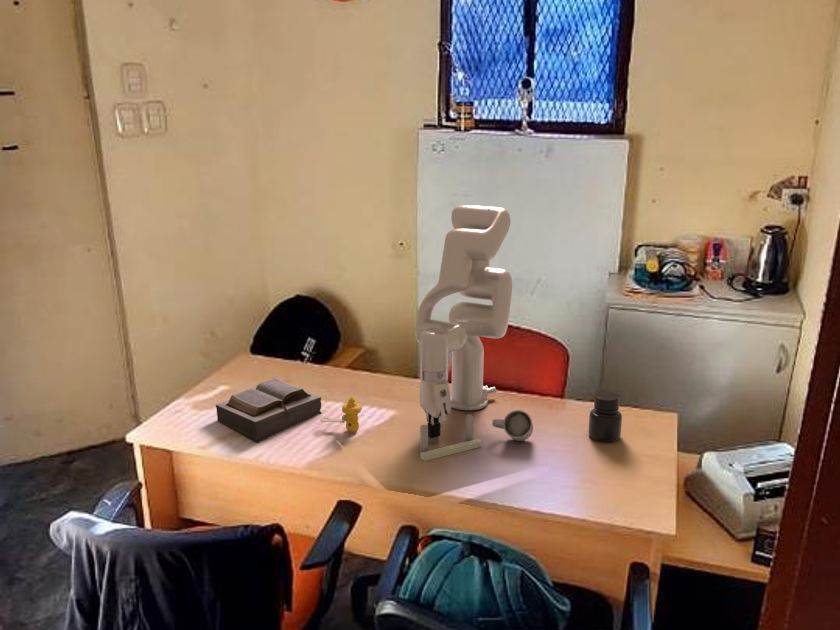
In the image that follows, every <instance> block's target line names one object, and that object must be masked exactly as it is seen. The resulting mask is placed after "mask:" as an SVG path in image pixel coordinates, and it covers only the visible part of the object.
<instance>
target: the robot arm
mask: <svg viewBox="0 0 840 630" xmlns="http://www.w3.org/2000/svg"><path fill="white" fill-rule="evenodd" d="M450 218H451V224H452V227H453V229H451V230H449V231H448V232H447V233H446V235H445V238H444V244H443V251H442V257H441V263H440V270H439V276H438V281H437V283H436V285H435V286H434V287H433V288H431V289H430V290H429V291H428V292H427V294H425V296H424V298H423V299H422V301H421V302H420V305H419V306H418V310H417V316H416V323H415V329H414V330H415V331H414V333H415V335H414V336H415V340H416V341H417V343H418V344H419V345H420V368H419V369H420V370H419V371H420V378H419V379H420V384H419V406H420V408H421V409H422V410H423V411H424V412H425V415H426V418H425V419H426V422H427V426H428V436H429V437H430V438H434V437H438V436H439V437H440V436H441V429H440V424H441V425H442V424H443V423H446V422H447V420H446V416H451V414H452V409H455V410H459V411H476V410H477V411H478V410H481V409H483V408H485V407H486V406H487V405H488V398H487V396H489V395H492V394H496V393H497V388H496V386H492V387H488V385H484V356H485V355H484V354H485V353H484V350H485V349H484V344H483V343H482V342H483V341H482V340H481V339H480V338H481V337H482V338H488V339H489V338H490V339H501V338H503V337H504V336H505V335H506V333H507V331H508V327H509V319H510V312H511V311H510V309H511V302H512V301H511V300H512V294H513V293H512V292H513V278H512V275H511V273H510V272H509V270H506V269H504V268H499V267H498V268H497V267H490V261H492V260H493V259H494V258H495V256H496V255H497V254H498V252H499V250H500V248H501V245H502V244H503V242H504V240H505V238H506V236H507V235H508V232H509V230H510V226H511V215H510V212H509V211H508V210H507V209H506V208H504V207H499V206H484V205H473V204H472V205H471V204H469V205H467V204H465V205H464V204H463V205H458V206H455V207H454V208H453V209H452V211H451V217H450ZM456 293H459V294H460V295H461V296H463V297H466V298H470V299H476V300H477V299H478V300H486V301H491V302H492V304H484V303H478V302H477V303H476V302H467V301H461V302H458V303H457V302H456V303H455V304H454V305H453V306H451V308H450V311H449V314H448V321H444V320H437V319H432V313H433V310H434V308H435V306H436V305H437V304H438V303H439V302H440V301H441V300H443V299H445V298H446V297H448V296H450V295H453V294H456ZM449 353H451V390H450V383H449Z"/></svg>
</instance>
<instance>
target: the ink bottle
mask: <svg viewBox="0 0 840 630" xmlns="http://www.w3.org/2000/svg"><path fill="white" fill-rule="evenodd" d="M620 399H621V397H620V395H619V394H618V393H616V392H614V391H609V390H608V391H607V390H603V391H602V390H601V391H597V392H596V393H594V402H593V408H592V409H591V410H590V411H589V417H588V418H589V419H588V429H587V430H588V435H589V436H590V437H591V438H592V439H594V440H597V441H603V442H614V441H617V440H619V439H620V438H621V436H622V435H621V433H622V425H623V424H622V423H623V415H622V413H621V412H620V410H619V409H620Z"/></svg>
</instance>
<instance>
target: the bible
mask: <svg viewBox="0 0 840 630" xmlns="http://www.w3.org/2000/svg"><path fill="white" fill-rule="evenodd" d="M215 409H216V417H217V418H216V419H217V422H218V423H220V424H221V425H222V426H225V427H227V428H229V429H230V430H232V431H234V432H236V433H237V434H239V435H241V436H243V437H244V438H246V439H248V440H250V441H252V442H254V443H256V444H259V443H261V442H263V441H264V440H267V439H268V438H271V437H272V436H274V435H277V434H279V433H282V432H284V431H285V430H288V429H290V428H291V427H294V426H297V425H299V424H300V423H302V422H304V420H305V421H308V420H309V419H311V418H312V419H313V418H314V417H315V416H317V415H321V414H322V411H321V409H322V396H320V395H318V394H315V393H311V392H309V391H306V390H305V389H304V388H302V387H299V386H295V385H292V384H290V383H288V382H285V381H284V380H281V379H280V378H277V377H273V378H270V379H267V380H263V381H261V382H259V383H258V384H257V386H256V387H255V388H247V389H245V390H243V391H239V392H238V393H235V394H232V395H231V396H230V398H229V399H228V400H225V401H223V402H220V403H217V404H215ZM276 433H277V434H276Z"/></svg>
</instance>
